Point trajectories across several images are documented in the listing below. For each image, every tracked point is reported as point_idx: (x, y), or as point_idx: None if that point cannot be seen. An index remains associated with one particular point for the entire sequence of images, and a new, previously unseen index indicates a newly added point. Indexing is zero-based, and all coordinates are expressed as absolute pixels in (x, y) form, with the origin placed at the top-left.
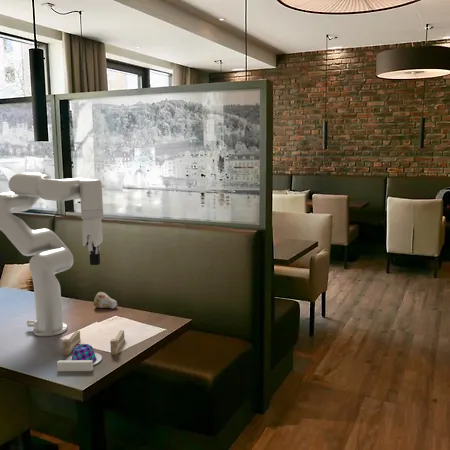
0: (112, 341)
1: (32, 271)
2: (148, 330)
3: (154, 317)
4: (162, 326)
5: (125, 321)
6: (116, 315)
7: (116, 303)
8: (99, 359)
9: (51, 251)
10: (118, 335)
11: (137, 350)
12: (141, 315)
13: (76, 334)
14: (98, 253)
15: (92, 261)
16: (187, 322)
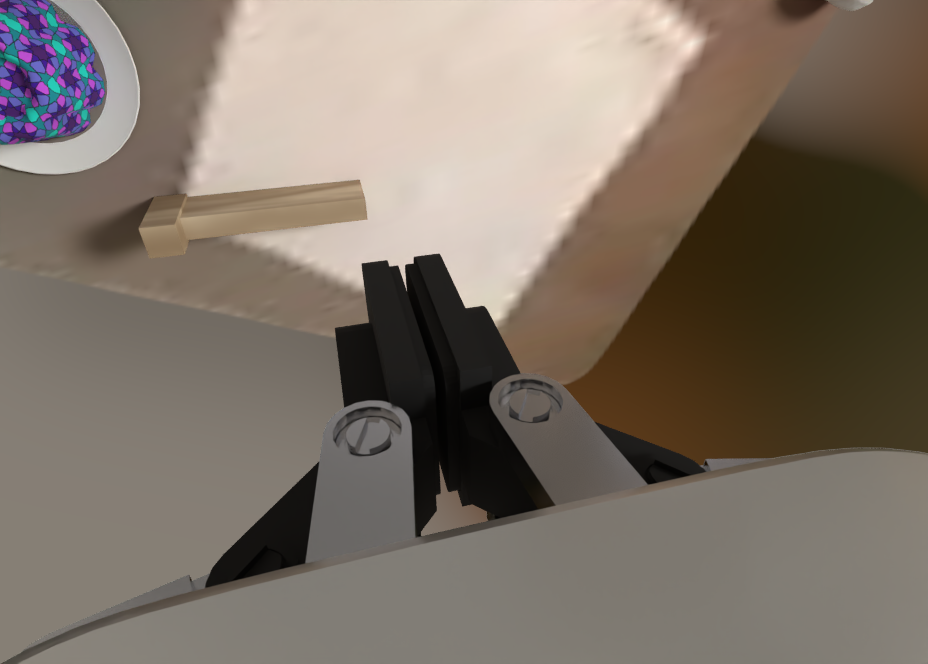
0: (143, 239)
1: None
2: (475, 274)
3: (630, 253)
4: (518, 315)
5: (602, 128)
6: (702, 44)
7: (846, 9)
8: (68, 159)
9: None
10: (290, 214)
11: (241, 297)
12: (669, 186)
13: None
14: (462, 495)
15: (339, 348)
16: None
